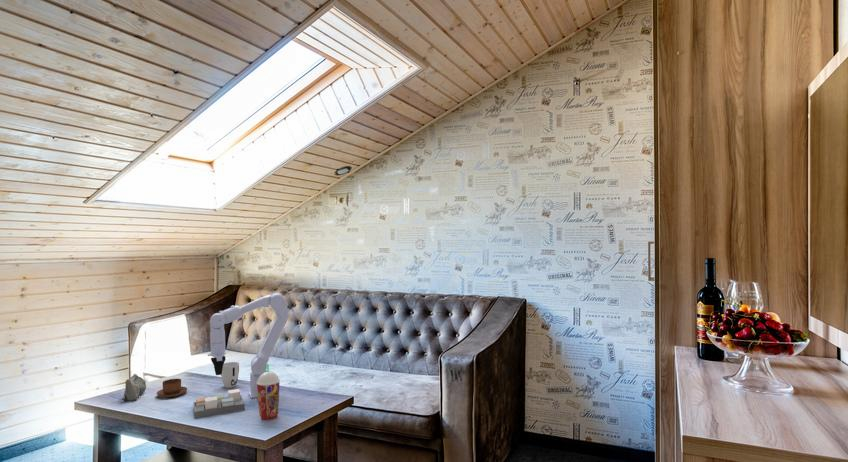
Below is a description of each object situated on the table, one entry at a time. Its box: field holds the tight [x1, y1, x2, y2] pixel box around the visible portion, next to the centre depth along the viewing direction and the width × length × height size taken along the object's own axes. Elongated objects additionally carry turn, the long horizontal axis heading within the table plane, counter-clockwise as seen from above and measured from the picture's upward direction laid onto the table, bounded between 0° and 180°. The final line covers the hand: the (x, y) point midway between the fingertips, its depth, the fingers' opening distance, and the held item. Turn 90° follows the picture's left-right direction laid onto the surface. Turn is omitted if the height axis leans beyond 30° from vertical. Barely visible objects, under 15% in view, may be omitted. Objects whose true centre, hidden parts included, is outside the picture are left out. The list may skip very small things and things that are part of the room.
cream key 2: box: [227, 388, 241, 400], centre depth 207 cm, size 4×4×4 cm
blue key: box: [221, 397, 234, 407], centre depth 200 cm, size 4×4×4 cm
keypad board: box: [193, 394, 246, 419], centre depth 202 cm, size 18×12×2 cm
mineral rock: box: [123, 373, 147, 401], centre depth 221 cm, size 13×11×10 cm
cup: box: [220, 361, 240, 389], centre depth 232 cm, size 8×8×10 cm
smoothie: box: [257, 363, 281, 421], centre depth 191 cm, size 8×8×20 cm
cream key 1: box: [205, 396, 217, 410], centre depth 198 cm, size 4×4×4 cm
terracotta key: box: [195, 396, 209, 406], centre depth 202 cm, size 4×4×4 cm
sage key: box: [211, 394, 225, 403], centre depth 204 cm, size 4×4×4 cm
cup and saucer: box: [156, 378, 188, 398], centre depth 222 cm, size 12×12×6 cm
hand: (218, 374), depth 214 cm, fingers closed
